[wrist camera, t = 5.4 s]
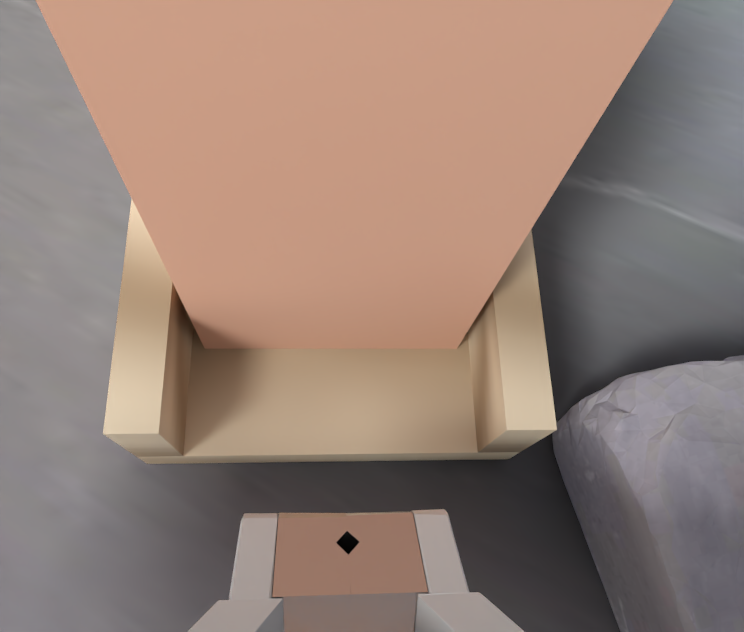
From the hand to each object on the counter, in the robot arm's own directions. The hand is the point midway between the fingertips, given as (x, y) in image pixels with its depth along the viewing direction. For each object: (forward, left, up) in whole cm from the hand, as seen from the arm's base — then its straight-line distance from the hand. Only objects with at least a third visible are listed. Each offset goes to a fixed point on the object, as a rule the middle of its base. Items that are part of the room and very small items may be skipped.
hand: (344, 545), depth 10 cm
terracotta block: (-4, -6, -5) cm, 8 cm away
